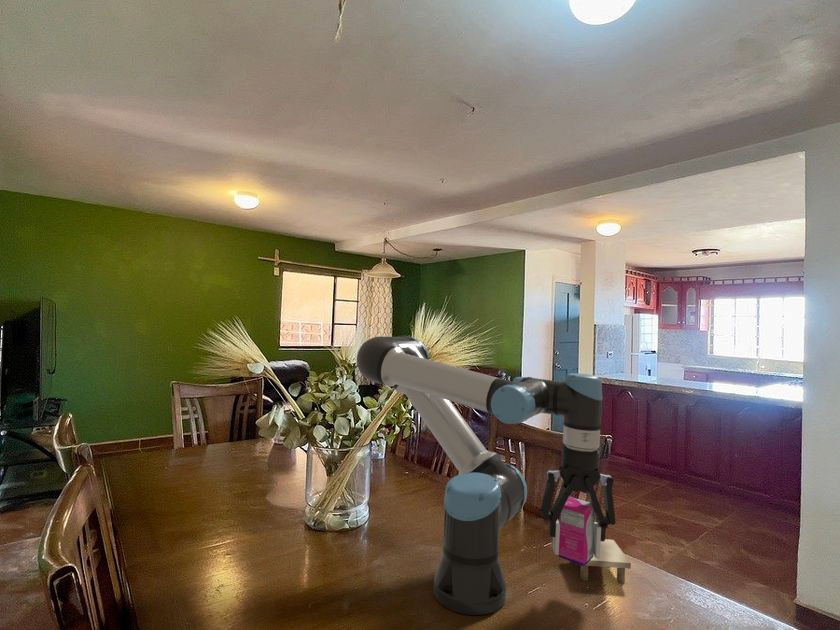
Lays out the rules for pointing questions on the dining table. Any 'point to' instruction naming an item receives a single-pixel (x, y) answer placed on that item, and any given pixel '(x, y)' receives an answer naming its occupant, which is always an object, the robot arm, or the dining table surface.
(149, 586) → the dining table surface
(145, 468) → the dining table surface
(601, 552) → the footstool
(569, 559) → the supplement box
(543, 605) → the dining table surface
